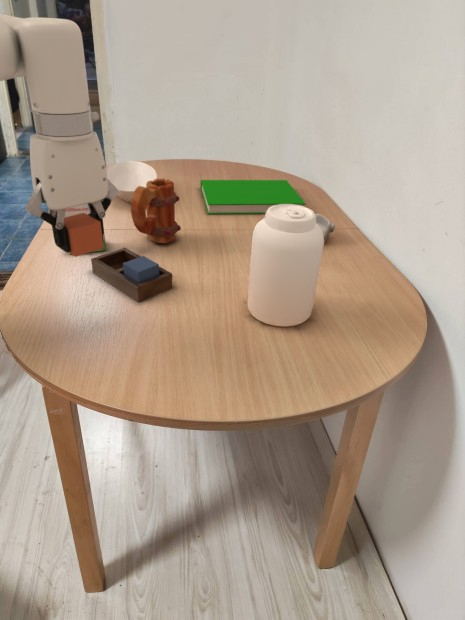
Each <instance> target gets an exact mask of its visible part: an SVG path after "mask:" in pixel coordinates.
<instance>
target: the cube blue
mask: <svg viewBox="0 0 465 620" xmlns="http://www.w3.org/2000/svg"><path fill="white" fill-rule="evenodd" d="M159 267H160V264H159V263H157V262H155V261H153V260H152V259H150V258H148V257H147V256H145V255H142V256H141V257H139V258H136V259H133V260H131V261H128V262H125V263H123V269H124V276H126V277H128V278H129V279H131V280H133V281H134V282H136V283H137V284H140V283H143V282H145V281H148V280H150V279H153V278H155V277H158V276H159Z"/></svg>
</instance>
